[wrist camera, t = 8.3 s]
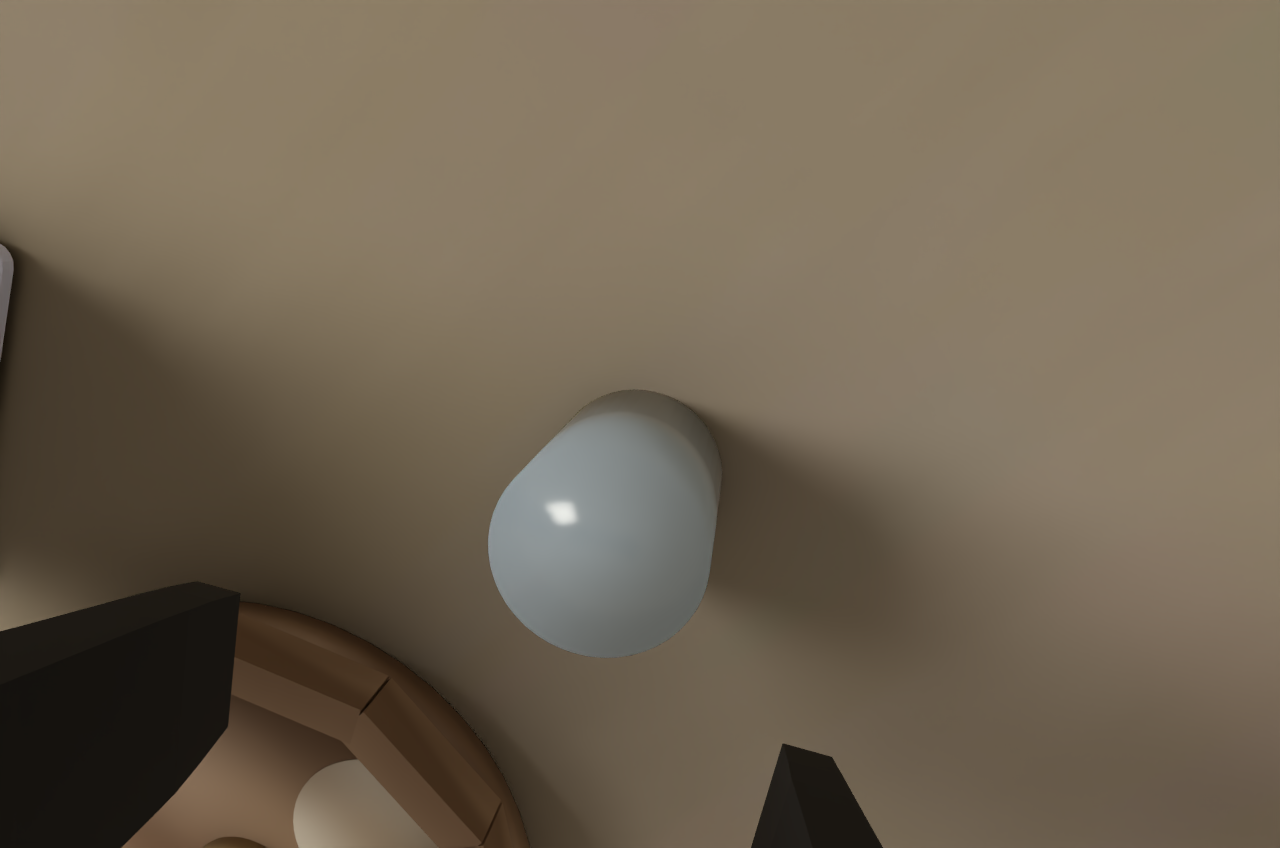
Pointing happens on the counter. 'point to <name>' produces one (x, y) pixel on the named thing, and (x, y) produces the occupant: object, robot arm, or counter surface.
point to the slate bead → (611, 527)
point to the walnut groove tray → (334, 754)
